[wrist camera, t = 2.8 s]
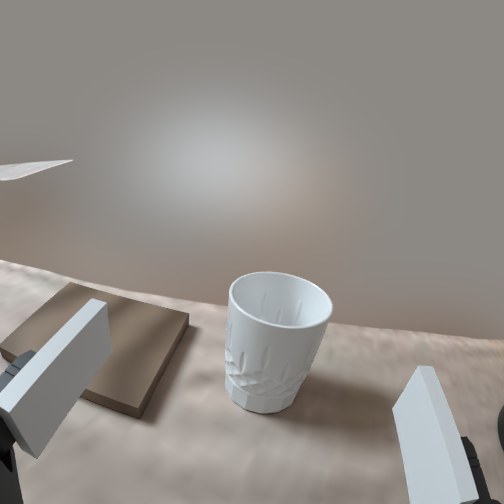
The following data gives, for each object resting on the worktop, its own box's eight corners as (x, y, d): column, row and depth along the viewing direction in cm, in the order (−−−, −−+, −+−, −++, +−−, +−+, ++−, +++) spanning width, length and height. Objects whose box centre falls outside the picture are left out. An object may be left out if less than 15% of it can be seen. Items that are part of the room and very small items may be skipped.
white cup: (206, 405, 25) (214, 310, 21) (231, 350, 32) (244, 263, 28) (297, 428, 24) (332, 338, 20) (306, 369, 31) (333, 283, 27)
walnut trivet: (188, 324, 35) (189, 313, 35) (139, 418, 22) (138, 408, 22) (71, 292, 36) (70, 282, 36) (2, 357, 24) (-2, 345, 23)
